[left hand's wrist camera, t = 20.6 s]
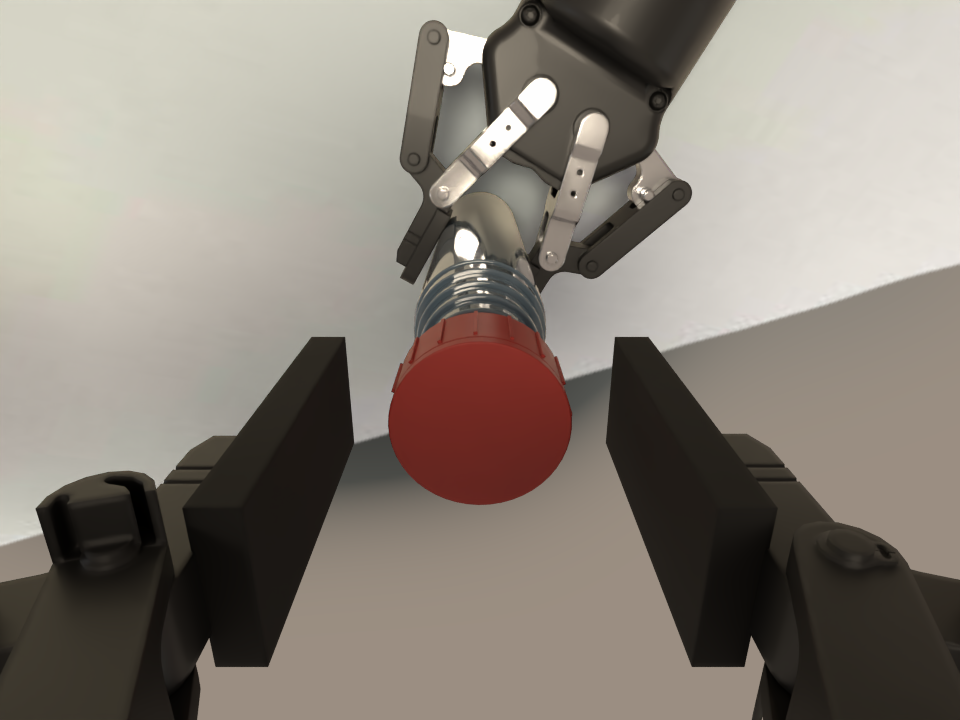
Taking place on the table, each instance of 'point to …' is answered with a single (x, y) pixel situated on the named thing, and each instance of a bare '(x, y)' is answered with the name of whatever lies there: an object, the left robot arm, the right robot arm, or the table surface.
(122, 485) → the left robot arm
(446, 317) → the bottle
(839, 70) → the table surface
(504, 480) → the cap
